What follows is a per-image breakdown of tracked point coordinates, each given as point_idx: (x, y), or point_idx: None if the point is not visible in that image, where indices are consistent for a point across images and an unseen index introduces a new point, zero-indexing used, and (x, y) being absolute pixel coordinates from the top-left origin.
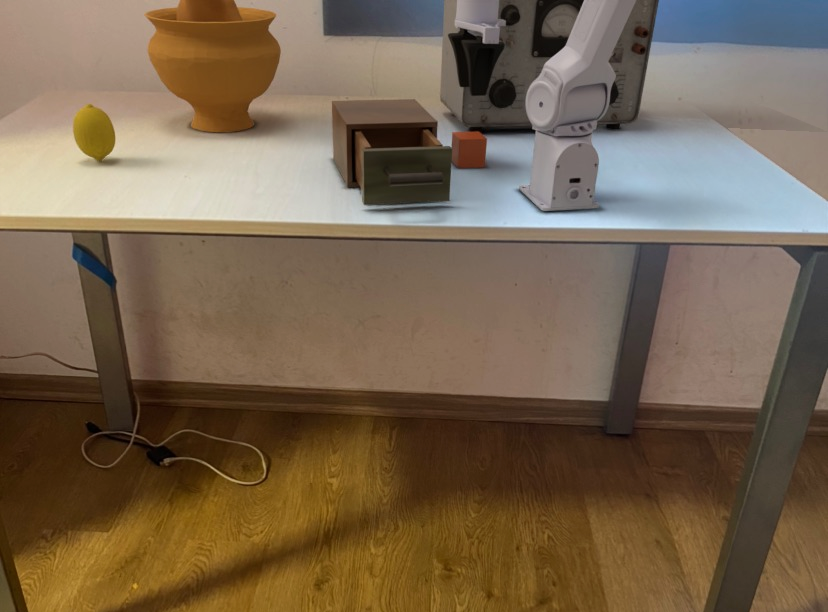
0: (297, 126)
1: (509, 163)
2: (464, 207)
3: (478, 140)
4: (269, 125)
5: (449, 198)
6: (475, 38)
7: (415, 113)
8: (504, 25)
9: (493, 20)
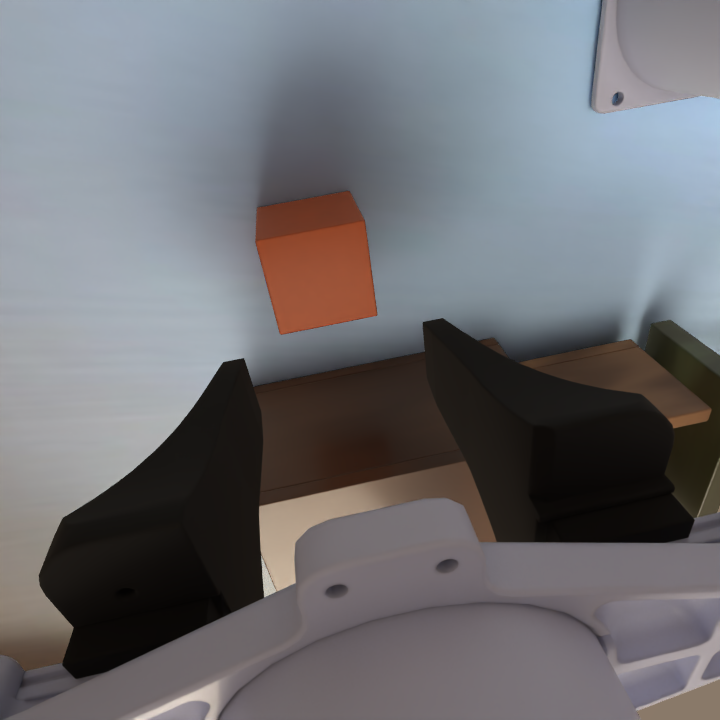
0: (14, 622)
1: (292, 86)
2: (668, 279)
3: (368, 250)
4: (30, 658)
5: (673, 322)
6: (221, 564)
7: (457, 494)
8: (464, 510)
9: (587, 642)
